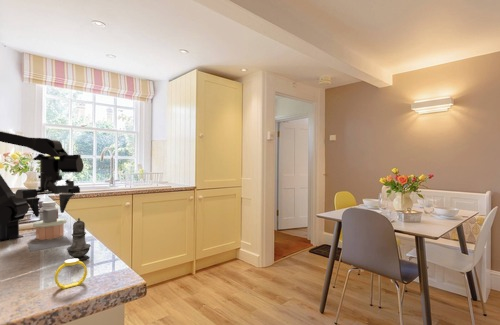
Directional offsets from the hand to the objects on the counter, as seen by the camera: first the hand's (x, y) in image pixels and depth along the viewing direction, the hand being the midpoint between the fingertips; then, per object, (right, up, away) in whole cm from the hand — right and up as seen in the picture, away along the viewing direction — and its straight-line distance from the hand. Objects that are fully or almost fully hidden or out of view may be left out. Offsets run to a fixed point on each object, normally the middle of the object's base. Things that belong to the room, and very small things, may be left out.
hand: (50, 214), depth 97 cm
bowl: (0, -8, 0) cm, 8 cm away
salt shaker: (+25, -9, -22) cm, 34 cm away
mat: (+7, -8, -9) cm, 14 cm away
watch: (+34, -9, -38) cm, 51 cm away
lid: (0, -3, 0) cm, 3 cm away
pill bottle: (-10, -9, +13) cm, 19 cm away
